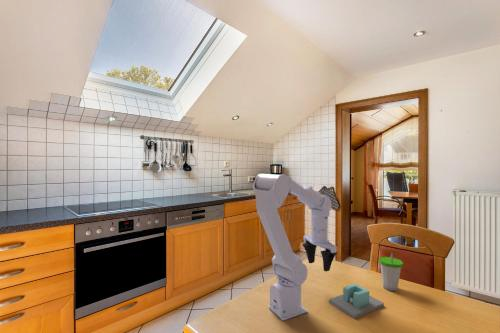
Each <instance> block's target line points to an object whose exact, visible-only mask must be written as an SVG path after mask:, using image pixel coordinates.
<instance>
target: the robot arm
mask: <svg viewBox="0 0 500 333" xmlns="http://www.w3.org/2000/svg"><path fill="white" fill-rule="evenodd" d="M252 190H253V192H254V195H255V203H256V204H255V206H256V213H257V215H258V218H259V220H260V222H261V225H262V226H263V230H264V232H265V235H266V236H267V239H268V242H269V245H270V247H271V249H272V251H273V253H274V255H273V257H272V258H271V263H272V271H273V273H274V275H275V276H276V279H277V281H276V282H275V283H273V284H271V285H270V288H269V305H268V308H269V310H271V311H272V313H274V314H275V315H276V317H278V318H279V319H280V320H281V321H286V320H289V319H292V318H294V317H296V316H300V315H302V314H305V313H307V312H308V310H307V309H306V307H304V306H303V305H302V285H303V284H304V283H305V282H306V280H307V278H308V267H307V265H306V264H305V263H304V262H303V260H302V259H301V257H299V256H298V255H297V254H296V253H295V252H294V251H293V249H292V245H291V243H290V240H289V238H288V235H287V232H286V230H285V227H284V224H283V221H282V218H281V217H280V213H279V211H278V209H279V208H281V207H282V205H283V203H284V202H285V200H286V198H287V196H288V194H291V195H293V196H296V197H297V199H298V201H299V202H300V203H302V204H304V205H305V206H307V207H308V209H309V210H310V211H311V213H310V214H311V215H310V217H311V218H310V225H311V226H310V235H309V234H307V235H303V242H302V247H303V249H304V250H305V254H306V257H307V261H308V263H309V264H313V263H315V260H316V251H317V247H318V248H319V247H320V248H322V249H324V250H321V251H320V254H321V258H322V263H323V264H322V265H323V266H322V267H323V271H324V272H330V271H331V270H330V269H331V268H332V264H333V261H334V259H335V257H336V255H338V247H337V246H336V245H334V244H333V243H332V242H330V240H329V238H328V235H329V234H328V233H329V231H328V230H329V227H328V226H329V225H328V224H329V223H328V222H329V220H328V219H329V216H330V214H331V213H330V211H331V208H332V200H331V198H330V197H329V196H328V195H327V194H325V195H323V194H321V192H320V191H318V190H314V187H313V186H311V185H307V186H302V185H300V184H298V183H297V182H296V181H294V180H293V178H292V177H291V176H288V175H286V174H284V173H283V174H275V173H273V174H272V173H271V174H270V173H265V172H262V173H261V172H260V173H259V174H257V175H256V177H255V179H254V182H253V185H252Z"/></svg>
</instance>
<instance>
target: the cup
mask: <svg viewBox="0 0 500 333" xmlns="http://www.w3.org/2000/svg"><path fill="white" fill-rule="evenodd" d="M378 258H379V259H378V263H379V264H380V272H381V273H380V274H381V279H382V280H381V282H382V287H383V289H384V290H387V291H388V292H397V291H398V289H399V288H398V286H399V281H400V275H401V270H402V267H403V265H404V261H402V260H400V259H397V258H396V257H394V251H391V254H390V256H382V257H378Z"/></svg>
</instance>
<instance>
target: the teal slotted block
mask: <svg viewBox="0 0 500 333" xmlns="http://www.w3.org/2000/svg"><path fill="white" fill-rule="evenodd" d="M342 290H343V291H342V292H343V293H342V295H343V299H344V300H345V301H347V302H348V301H350V298H353V305H354V306H355V307H357V308H359V307H361V306H364V305H366V304H368V303H369V296H370V290H368V289H366V288H364V287H362V286H360V285H358V284H357V283H353V284H350V285H346V286H344V287H343V286H342ZM353 292H354V293H353Z"/></svg>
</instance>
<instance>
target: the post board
mask: <svg viewBox="0 0 500 333" xmlns="http://www.w3.org/2000/svg"><path fill="white" fill-rule="evenodd" d="M353 293H354V292H353ZM328 303H329V304H331V305H333V306H334V307H336V308H337V309H338V310H340V311H342V312H343V313H345V314H346V315H347V316H349V317H351V318H353V319H354V320H356V319H357V318H360V317H361V316H364V315H366V314H368V313H371V312H374V311H376V310H378V309H381V308H383V307H384V306H385V303H384V302H383V301H381V300H379V299H377V298H375V297H373V296H371V295H369V303H368V304H366V305H364V306H361V307H359V308H357V307H355V306H354V305H353V298H350V301H348V302H347V301H345V300H344V299H343V294H340V295H337V296H333V297H331V298H328Z"/></svg>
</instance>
